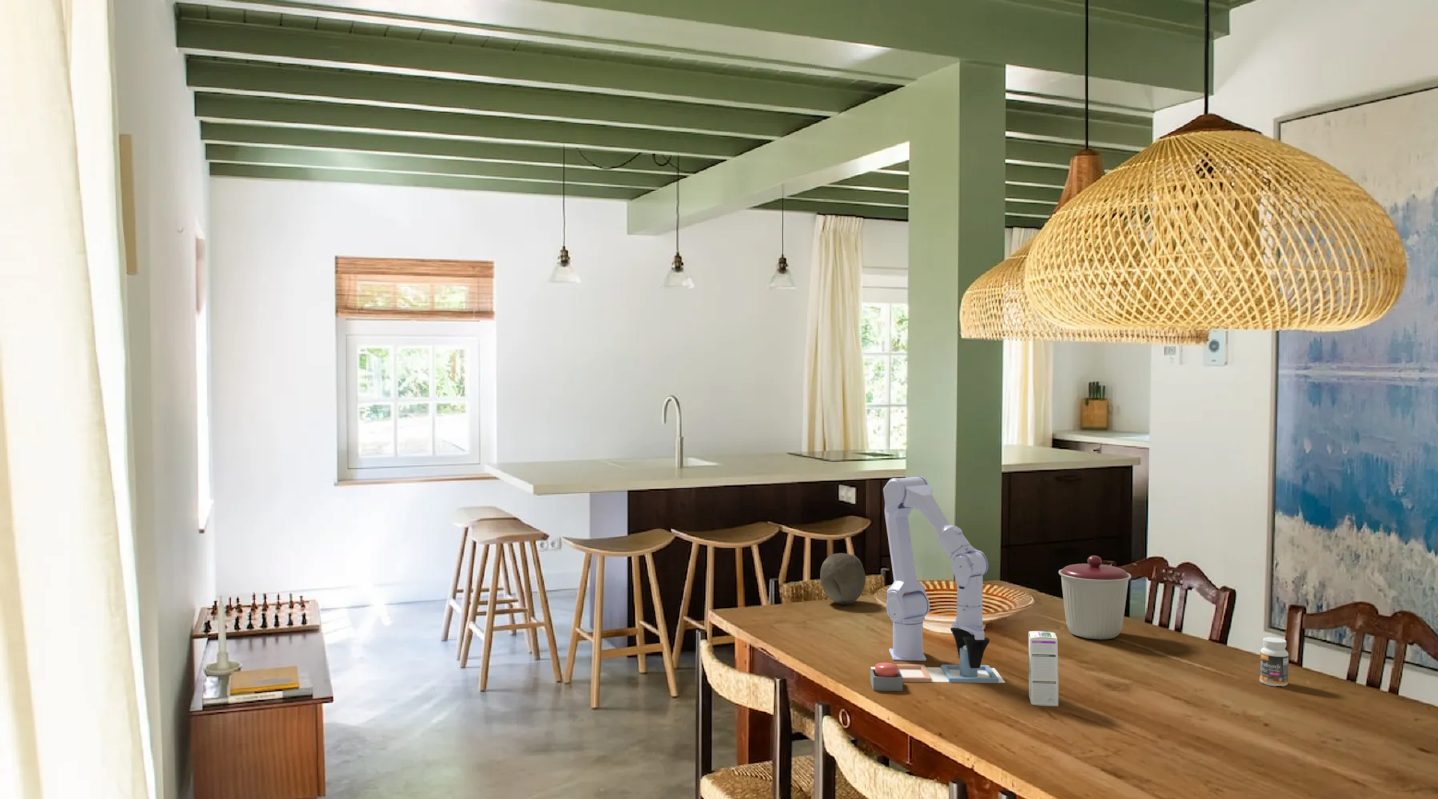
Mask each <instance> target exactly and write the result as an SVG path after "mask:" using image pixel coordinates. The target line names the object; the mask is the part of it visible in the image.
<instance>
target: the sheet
mask: <svg viewBox="0 0 1438 799" xmlns="http://www.w3.org/2000/svg"><path fill="white" fill-rule="evenodd" d="M925 667H926V669H927V671H928V673H929V675H930V676H931V682H930V683H950V682H949V681H948V679H947V677H946V675H945V674H944V672H943V670H942V669H941V666H940V667H935V666H934V667H933V666H932V667H927V666H925ZM990 668H991V669H992V671H993V672H994V673H995V675H996V676H997V677H998V679H999V682H977V683H982V684H983V683H985V684H988V683H990V684H991V683H992V684H995V683H996V684H1003V683H1006V681H1005V680H1004V678H1003V677H1002V676H1001V675H1000V673H999V672H998V670H997V669H996V668H995V667H990ZM871 669H875V666H870V670H871ZM899 670H900V673H901V675H902V677H924V675H923V673H922V671H921V669H899ZM948 670H949V671H950V673H951V675H952V676H953V677H962V676H960V669H948ZM977 677H982V678H991V677H990V676H989V675H988V673H987V672H986V670H978V676H977Z"/></svg>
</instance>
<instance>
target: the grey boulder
mask: <svg viewBox="0 0 1438 799" xmlns="http://www.w3.org/2000/svg"><path fill="white" fill-rule="evenodd" d="M819 575H820V576H819V577H820V585H821V587H822V589H823V591H824V593H825V594H826V596H827V597H828V598H829V599H831V600H832V601H833V602H834V603H837V604H840V605H850V604H853V603H855V602H856V601H857V600H858V599H859V598H860V597H861V595H862V593H863V592H864V588H865V586H866V580H867V579H866V573H865V569H864V566H863V563H862V561H861V560H860V559H859V558H858V557H857V556H856V555H855V554H849V553H844V552H838V553H833V554H830V555H829V556H828V557H826V558H825V560H824V561H823V562H822V564H821V567H820V574H819Z"/></svg>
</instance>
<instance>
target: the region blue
mask: <svg viewBox="0 0 1438 799" xmlns="http://www.w3.org/2000/svg"><path fill="white" fill-rule="evenodd" d="M940 668H941V669H942V670H943V672H944V674H945V675H946V677H947V679H948V681H949V682H948V683H978V682H999V679H998V677H997V676H996V675H995V673H994V672H993V671H992V669H991V668H992V667H990V665H989V664H988V665H987V664H983V665H982V664H981V665H980V668H978V670H986V672H987V673H988V675H989V676H990V677H991V678H982V677H953V676H952V675H951V673H950V671H949V670H948V669H960V664H941V666H940Z"/></svg>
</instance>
